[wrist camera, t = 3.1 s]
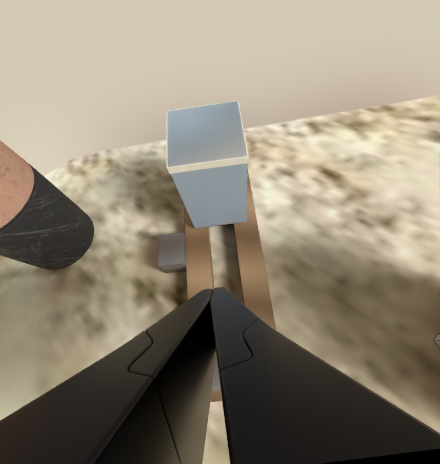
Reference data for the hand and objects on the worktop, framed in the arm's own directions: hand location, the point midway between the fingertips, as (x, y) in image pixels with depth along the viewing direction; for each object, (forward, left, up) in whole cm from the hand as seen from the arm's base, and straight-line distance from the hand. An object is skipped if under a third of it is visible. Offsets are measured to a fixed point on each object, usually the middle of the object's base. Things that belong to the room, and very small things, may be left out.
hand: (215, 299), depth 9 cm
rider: (+10, +5, -13) cm, 17 cm away
